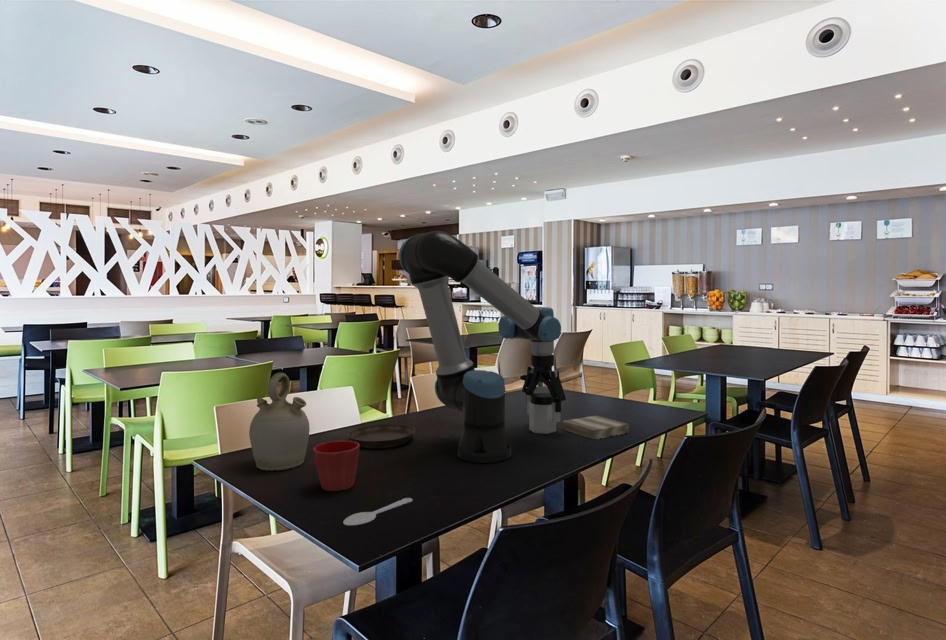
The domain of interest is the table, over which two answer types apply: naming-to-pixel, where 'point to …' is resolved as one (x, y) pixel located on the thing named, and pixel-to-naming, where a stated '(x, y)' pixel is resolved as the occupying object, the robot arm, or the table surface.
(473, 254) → the robot arm
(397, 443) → the plant saucer
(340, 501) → the table surface
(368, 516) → the spoon
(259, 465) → the jug
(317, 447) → the flower pot
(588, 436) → the base board
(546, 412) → the jar
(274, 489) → the table surface
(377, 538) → the table surface
